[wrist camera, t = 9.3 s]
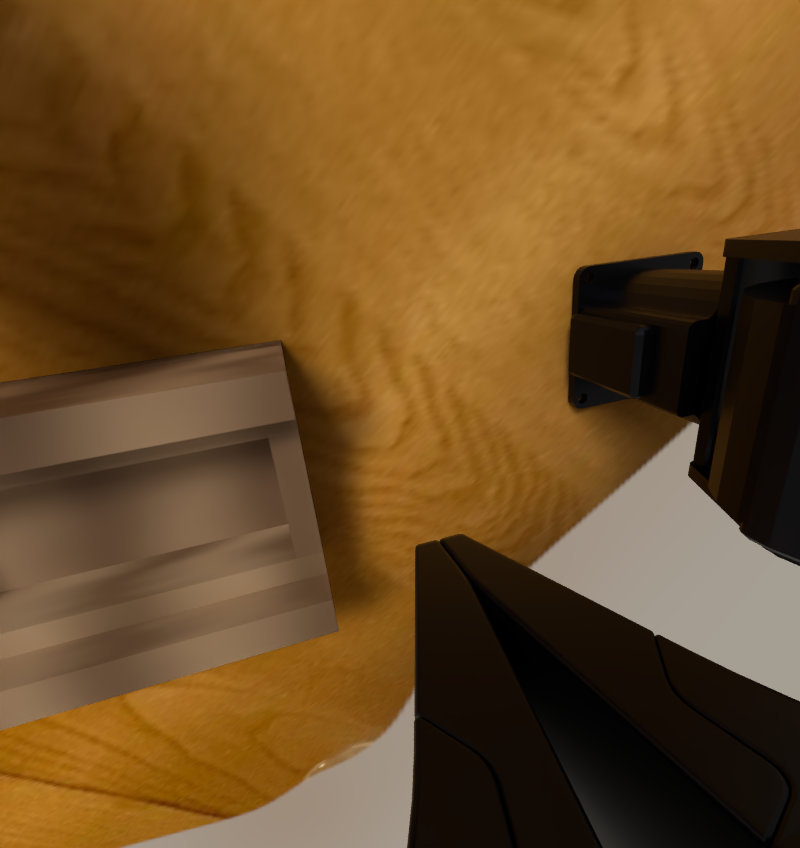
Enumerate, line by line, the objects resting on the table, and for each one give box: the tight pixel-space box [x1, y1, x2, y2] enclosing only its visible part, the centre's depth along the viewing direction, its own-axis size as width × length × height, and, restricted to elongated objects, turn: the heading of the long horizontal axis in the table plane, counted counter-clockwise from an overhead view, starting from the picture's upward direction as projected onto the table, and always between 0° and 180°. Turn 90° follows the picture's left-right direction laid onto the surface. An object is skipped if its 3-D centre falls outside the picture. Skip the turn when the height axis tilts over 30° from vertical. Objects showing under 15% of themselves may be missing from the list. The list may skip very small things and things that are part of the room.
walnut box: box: [0, 341, 339, 730], centre depth 16 cm, size 14×10×5 cm
